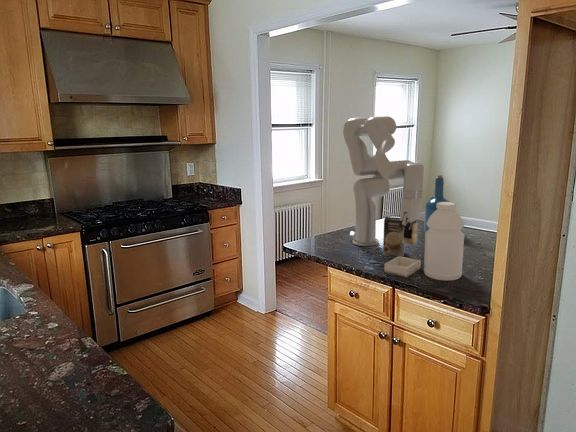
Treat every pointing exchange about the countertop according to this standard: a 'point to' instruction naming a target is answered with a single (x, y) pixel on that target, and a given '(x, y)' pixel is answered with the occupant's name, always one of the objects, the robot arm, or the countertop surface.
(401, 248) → the coffee box
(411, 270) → the white square tray
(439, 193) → the wine bottle
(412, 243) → the tan rounded cylinder
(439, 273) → the bottle
